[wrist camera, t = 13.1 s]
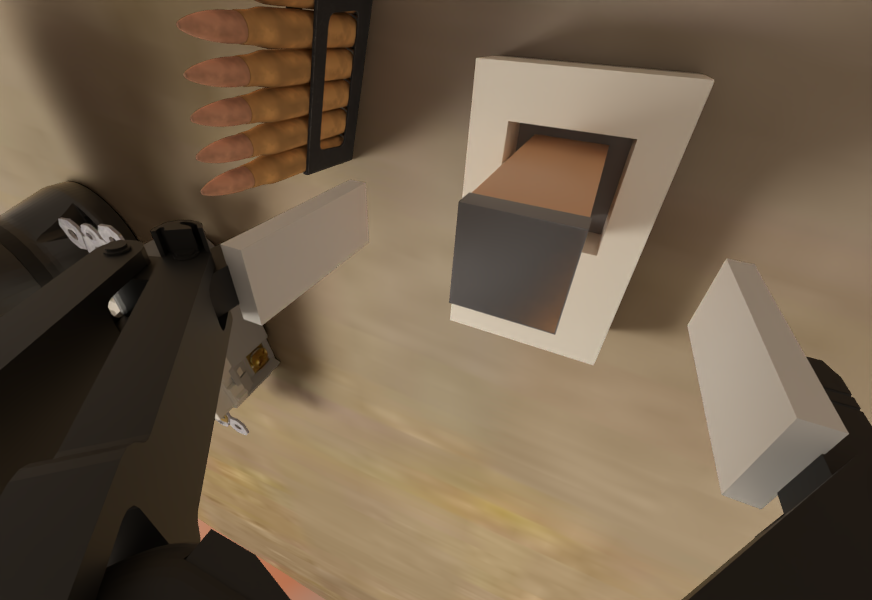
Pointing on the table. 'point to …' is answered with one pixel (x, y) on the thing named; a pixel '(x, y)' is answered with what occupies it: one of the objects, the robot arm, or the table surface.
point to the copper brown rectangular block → (527, 232)
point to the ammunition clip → (282, 87)
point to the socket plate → (620, 180)
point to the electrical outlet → (247, 340)
